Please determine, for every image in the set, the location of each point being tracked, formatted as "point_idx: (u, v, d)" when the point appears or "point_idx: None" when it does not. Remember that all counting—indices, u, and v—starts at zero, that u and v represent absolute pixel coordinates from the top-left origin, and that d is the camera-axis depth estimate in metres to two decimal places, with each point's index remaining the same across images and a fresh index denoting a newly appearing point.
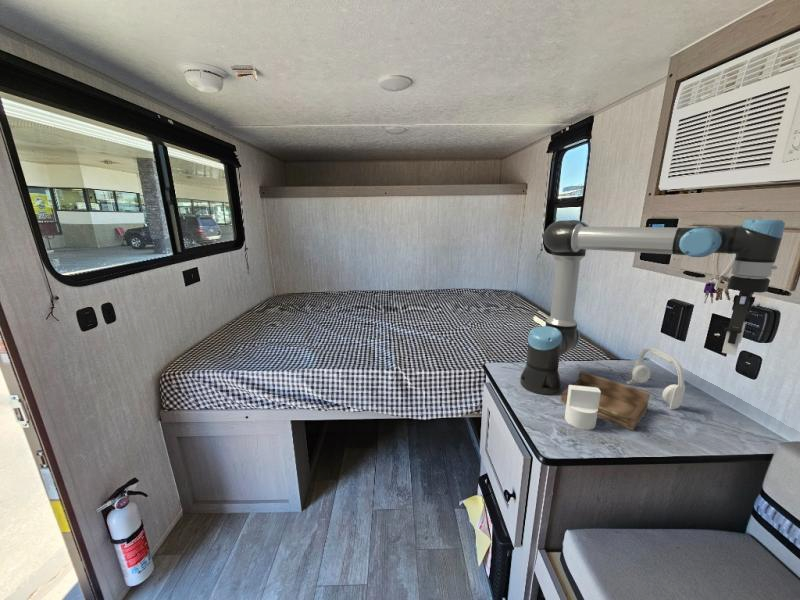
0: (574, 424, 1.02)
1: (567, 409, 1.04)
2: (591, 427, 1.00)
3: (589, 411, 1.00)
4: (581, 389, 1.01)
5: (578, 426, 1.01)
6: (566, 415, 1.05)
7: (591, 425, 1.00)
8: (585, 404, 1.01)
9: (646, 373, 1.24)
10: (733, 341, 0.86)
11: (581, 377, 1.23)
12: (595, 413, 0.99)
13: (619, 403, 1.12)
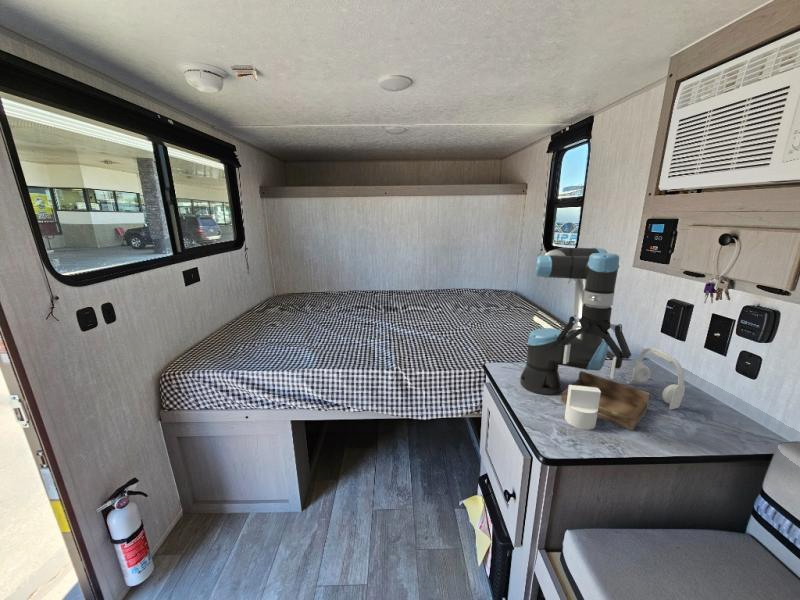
0: (574, 423, 1.02)
1: (567, 409, 1.04)
2: (591, 427, 1.00)
3: (589, 411, 1.00)
4: (581, 389, 1.01)
5: (578, 426, 1.01)
6: (566, 415, 1.05)
7: (591, 425, 1.00)
8: (585, 404, 1.01)
9: (646, 373, 1.24)
10: None
11: (581, 377, 1.23)
12: (595, 413, 0.99)
13: (619, 403, 1.12)
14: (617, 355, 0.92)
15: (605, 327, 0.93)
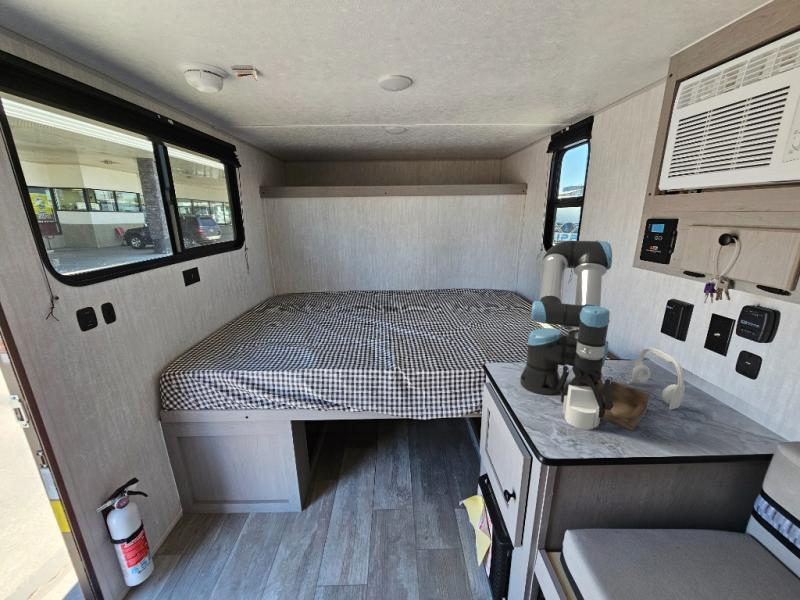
0: (574, 423, 1.02)
1: (567, 409, 1.04)
2: (591, 427, 1.00)
3: (589, 411, 1.00)
4: (581, 389, 1.01)
5: (578, 426, 1.01)
6: (566, 415, 1.05)
7: (591, 425, 1.00)
8: (585, 404, 1.01)
9: (646, 373, 1.24)
10: None
11: None
12: (595, 413, 0.99)
13: (619, 403, 1.12)
14: (600, 406, 0.98)
15: (596, 377, 0.97)
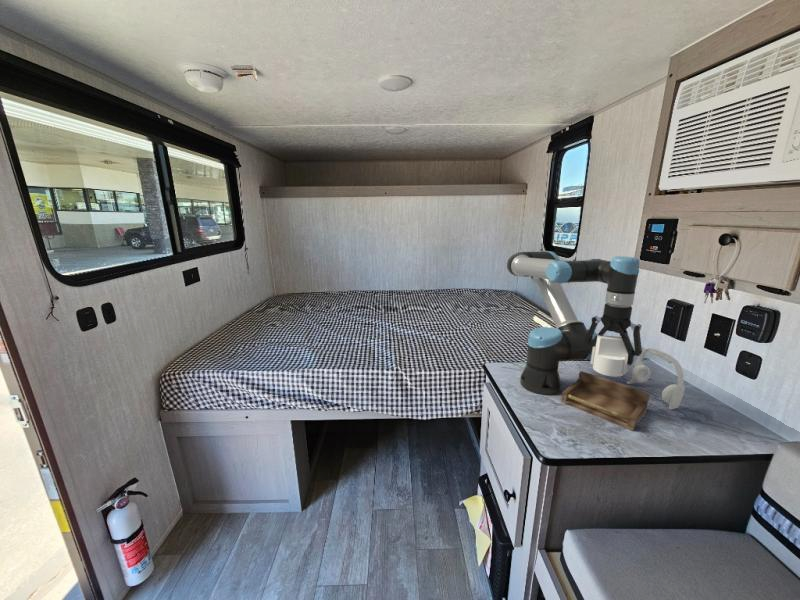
0: (603, 371, 1.06)
1: (596, 358, 1.08)
2: (620, 374, 1.04)
3: (618, 358, 1.04)
4: (610, 338, 1.05)
5: (607, 373, 1.05)
6: (595, 365, 1.09)
7: (620, 372, 1.04)
8: (613, 352, 1.05)
9: (646, 373, 1.24)
10: None
11: (581, 377, 1.23)
12: None
13: (619, 403, 1.12)
14: (629, 352, 1.02)
15: (625, 325, 1.01)
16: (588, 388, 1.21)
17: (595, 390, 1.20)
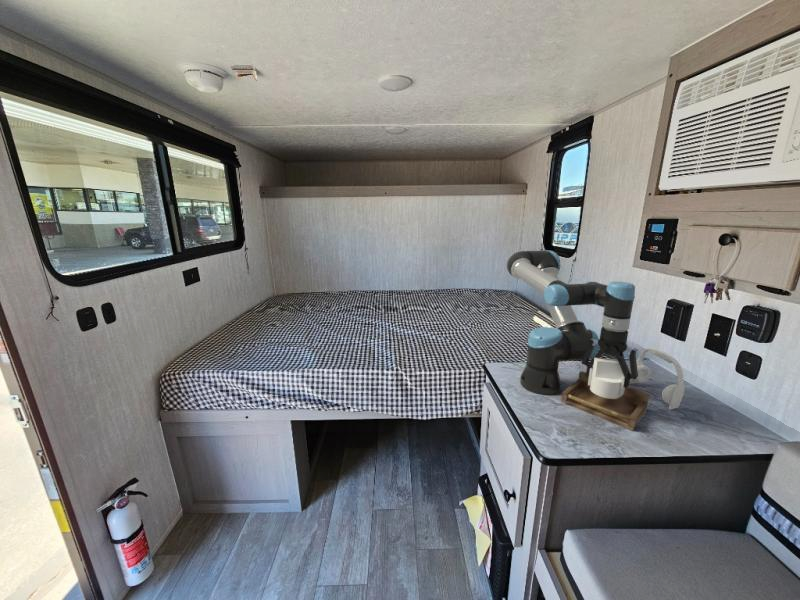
0: (600, 393, 1.08)
1: (593, 380, 1.10)
2: (616, 396, 1.06)
3: (615, 381, 1.06)
4: (607, 361, 1.07)
5: (604, 395, 1.07)
6: (592, 386, 1.11)
7: (616, 394, 1.06)
8: (610, 375, 1.07)
9: (646, 373, 1.24)
10: None
11: (581, 377, 1.23)
12: (620, 383, 1.05)
13: (619, 403, 1.12)
14: (626, 375, 1.04)
15: (622, 349, 1.03)
16: (588, 388, 1.21)
17: None
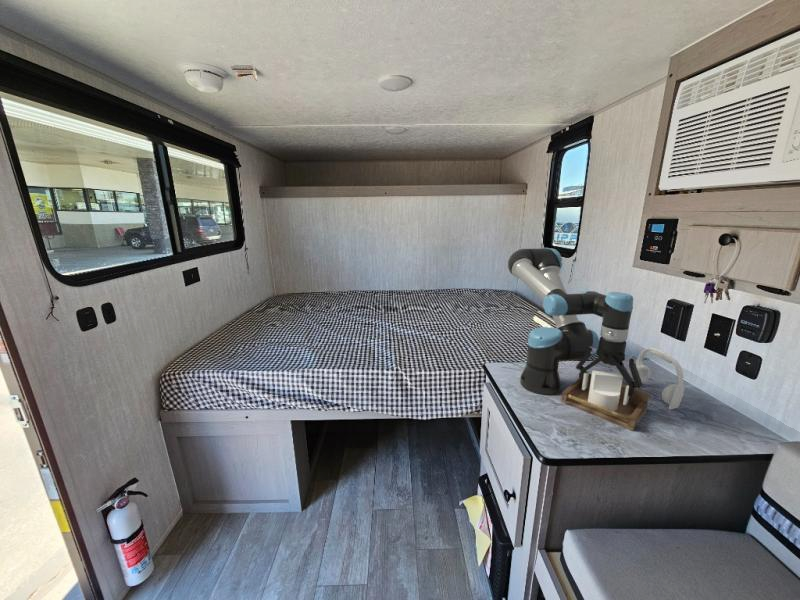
0: None
1: (591, 393, 1.11)
2: (614, 409, 1.08)
3: (612, 394, 1.07)
4: (604, 374, 1.08)
5: None
6: (590, 399, 1.12)
7: (614, 407, 1.07)
8: (608, 388, 1.09)
9: (646, 373, 1.24)
10: None
11: None
12: (618, 396, 1.07)
13: (619, 403, 1.12)
14: (630, 384, 1.03)
15: (620, 359, 1.04)
16: (588, 388, 1.21)
17: None
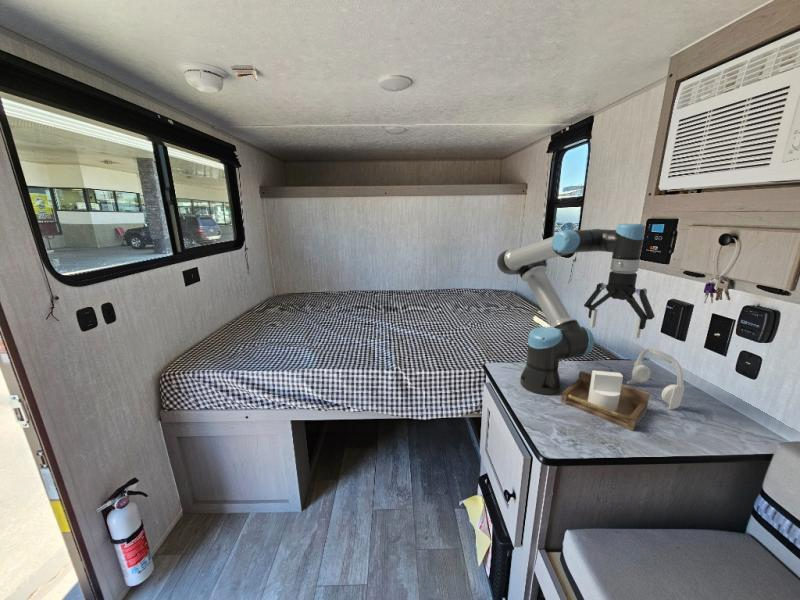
0: None
1: (591, 393, 1.11)
2: (614, 409, 1.08)
3: (612, 394, 1.07)
4: (604, 374, 1.08)
5: None
6: (590, 399, 1.12)
7: (614, 407, 1.07)
8: (608, 388, 1.09)
9: (646, 373, 1.24)
10: None
11: (581, 377, 1.23)
12: (618, 396, 1.07)
13: (619, 403, 1.12)
14: (641, 316, 1.01)
15: (630, 291, 1.02)
16: (588, 388, 1.21)
17: None
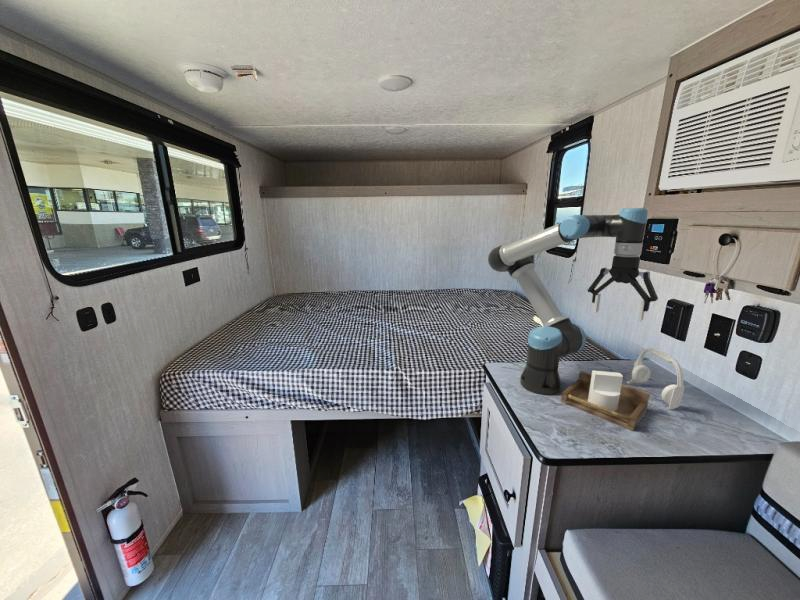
0: None
1: (591, 393, 1.11)
2: (614, 409, 1.08)
3: (612, 394, 1.07)
4: (604, 374, 1.08)
5: None
6: (590, 399, 1.12)
7: (614, 407, 1.07)
8: (608, 388, 1.09)
9: (646, 373, 1.24)
10: None
11: (581, 377, 1.23)
12: (618, 396, 1.07)
13: (619, 403, 1.12)
14: (645, 299, 1.03)
15: (634, 274, 1.04)
16: (588, 388, 1.21)
17: None
